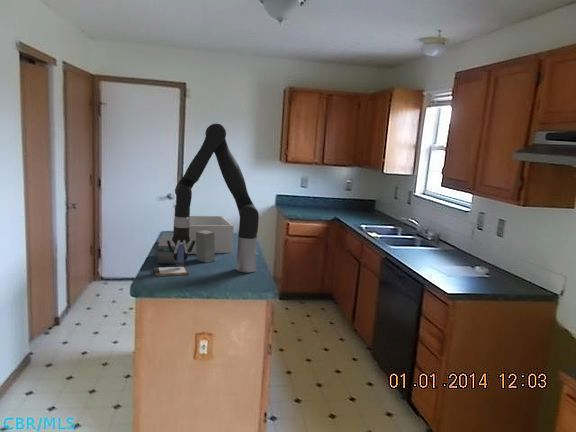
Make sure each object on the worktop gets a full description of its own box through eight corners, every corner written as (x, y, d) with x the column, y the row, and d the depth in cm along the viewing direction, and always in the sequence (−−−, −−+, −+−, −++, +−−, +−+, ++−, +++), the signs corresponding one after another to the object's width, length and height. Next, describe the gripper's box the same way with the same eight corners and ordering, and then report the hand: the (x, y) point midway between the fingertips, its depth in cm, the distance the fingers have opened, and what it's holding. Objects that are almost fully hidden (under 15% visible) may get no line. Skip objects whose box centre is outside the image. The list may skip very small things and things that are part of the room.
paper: (183, 267, 220) (183, 266, 220) (186, 272, 211) (186, 272, 211) (158, 268, 215) (158, 267, 215) (160, 273, 207) (160, 273, 207)
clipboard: (185, 268, 221) (185, 264, 221) (188, 275, 211) (188, 271, 211) (153, 269, 216) (154, 265, 215) (155, 276, 206) (155, 272, 205)
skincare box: (214, 261, 238) (216, 232, 235) (203, 263, 232) (205, 233, 230) (205, 257, 243) (206, 229, 241) (194, 259, 238) (195, 230, 235)
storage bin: (220, 240, 286) (221, 216, 284) (232, 252, 258) (233, 225, 255) (177, 241, 277) (178, 215, 274) (184, 253, 248) (185, 225, 245)
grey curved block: (173, 267, 221) (174, 246, 220) (157, 267, 220) (157, 245, 218) (176, 254, 246) (177, 235, 244) (161, 254, 244) (162, 234, 242)
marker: (183, 264, 219) (184, 240, 217) (184, 266, 215) (185, 242, 214) (175, 264, 218) (176, 240, 216) (176, 266, 214) (177, 242, 212)
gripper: (195, 224, 219) (193, 258, 222) (165, 223, 214) (164, 258, 217) (197, 227, 212) (196, 262, 215) (167, 227, 207) (165, 262, 210)
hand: (180, 260), depth 216 cm, fingers closed on marker, 3 cm apart
